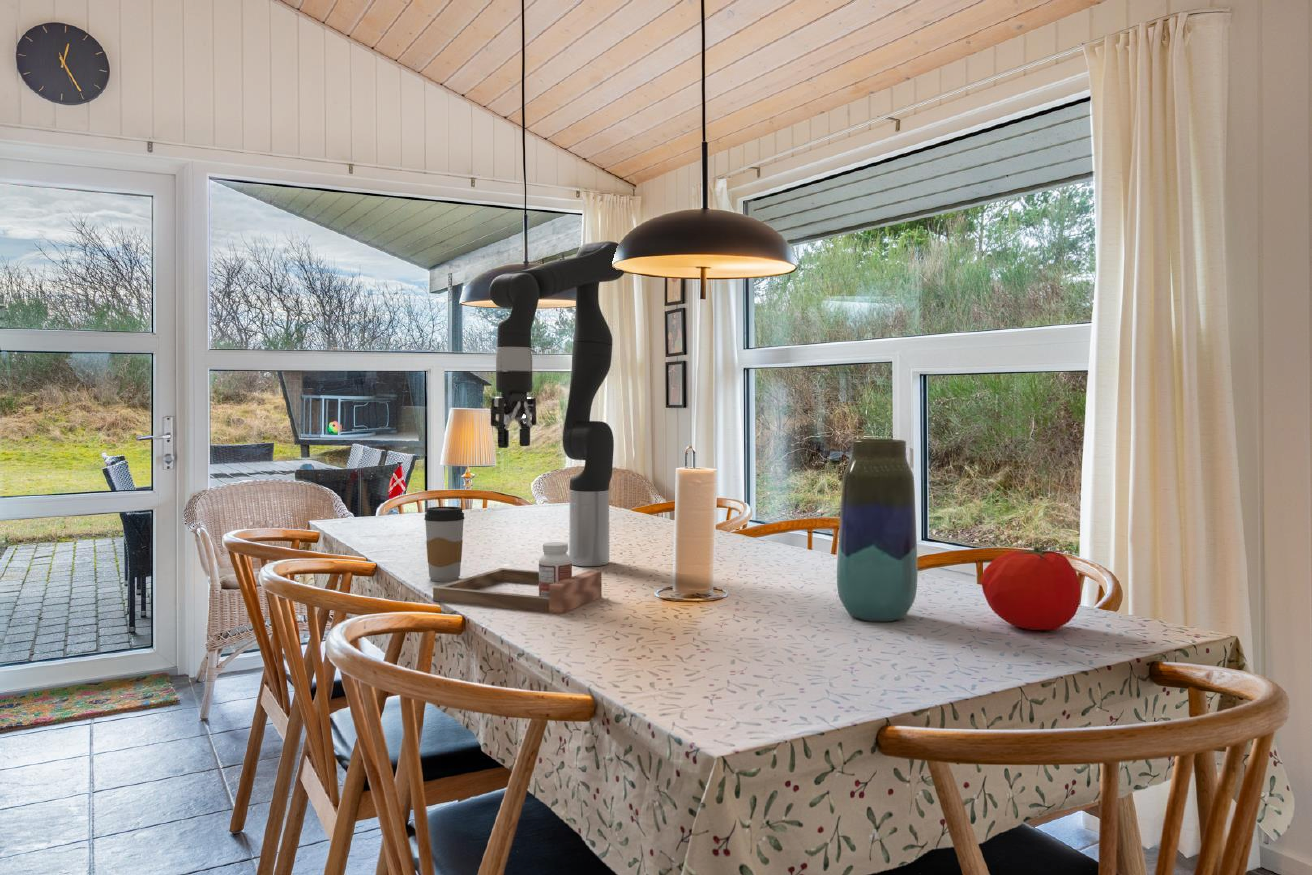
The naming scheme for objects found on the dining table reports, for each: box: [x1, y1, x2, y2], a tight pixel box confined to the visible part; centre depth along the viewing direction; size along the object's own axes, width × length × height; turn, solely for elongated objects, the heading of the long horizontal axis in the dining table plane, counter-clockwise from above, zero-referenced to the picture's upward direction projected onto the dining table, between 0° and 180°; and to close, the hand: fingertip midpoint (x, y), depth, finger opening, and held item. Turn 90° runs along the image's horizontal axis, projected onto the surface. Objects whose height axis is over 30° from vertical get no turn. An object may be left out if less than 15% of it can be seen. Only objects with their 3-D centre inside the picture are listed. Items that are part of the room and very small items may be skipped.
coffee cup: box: [424, 506, 465, 582], centre depth 199 cm, size 8×8×15 cm
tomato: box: [980, 544, 1081, 631], centre depth 158 cm, size 16×14×14 cm
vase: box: [836, 438, 919, 623], centre depth 165 cm, size 14×14×31 cm
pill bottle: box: [538, 541, 573, 597], centre depth 176 cm, size 6×6×11 cm
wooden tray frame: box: [432, 567, 603, 615], centre depth 183 cm, size 24×28×5 cm
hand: (514, 447), depth 197 cm, fingers open, 8 cm apart
